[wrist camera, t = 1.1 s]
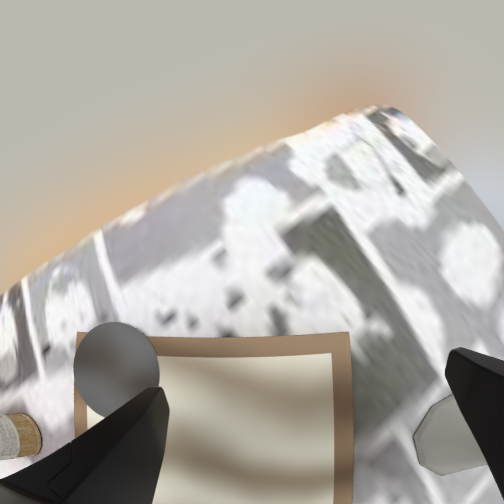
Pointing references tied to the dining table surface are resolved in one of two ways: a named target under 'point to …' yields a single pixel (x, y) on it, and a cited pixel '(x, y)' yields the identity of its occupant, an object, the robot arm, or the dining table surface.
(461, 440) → the flask
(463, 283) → the dining table surface
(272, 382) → the beige tray
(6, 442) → the sprinkles bottle
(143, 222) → the dining table surface
